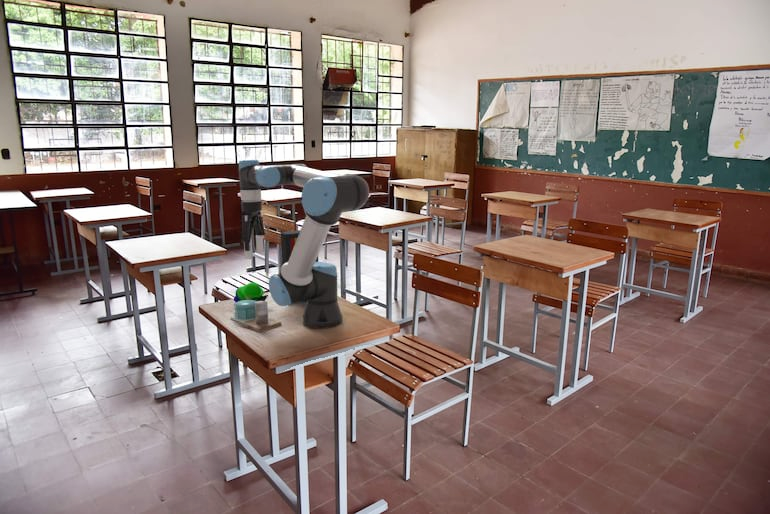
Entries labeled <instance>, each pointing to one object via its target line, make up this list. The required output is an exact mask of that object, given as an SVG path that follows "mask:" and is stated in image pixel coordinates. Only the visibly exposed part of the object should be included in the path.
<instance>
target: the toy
mask: <svg viewBox="0 0 770 514" xmlns="http://www.w3.org/2000/svg"><path fill="white" fill-rule="evenodd" d="M264 294H265V293H264V289H263V288H262V287H261V286H260V285H259V283H257V282H249V283H246V285H243V286H239V287H237V289H236V290H235V296H234V297H233V301H234V303H236V302H238V301H242V300H255V301H257V302H258V301H266V299H267V298H268V297H269V294H266V295H264Z"/></svg>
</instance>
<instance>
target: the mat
mask: <svg viewBox="0 0 770 514" xmlns="http://www.w3.org/2000/svg"><path fill="white" fill-rule="evenodd" d="M229 317H230V320H232V321H236V322H238V323H240V324H243V323H245V322H248V321H251V320H254V319H256V318H253V319H248V320H243V319H237V318H236V317H235V315H234V314H233V315H231V316H229Z"/></svg>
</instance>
